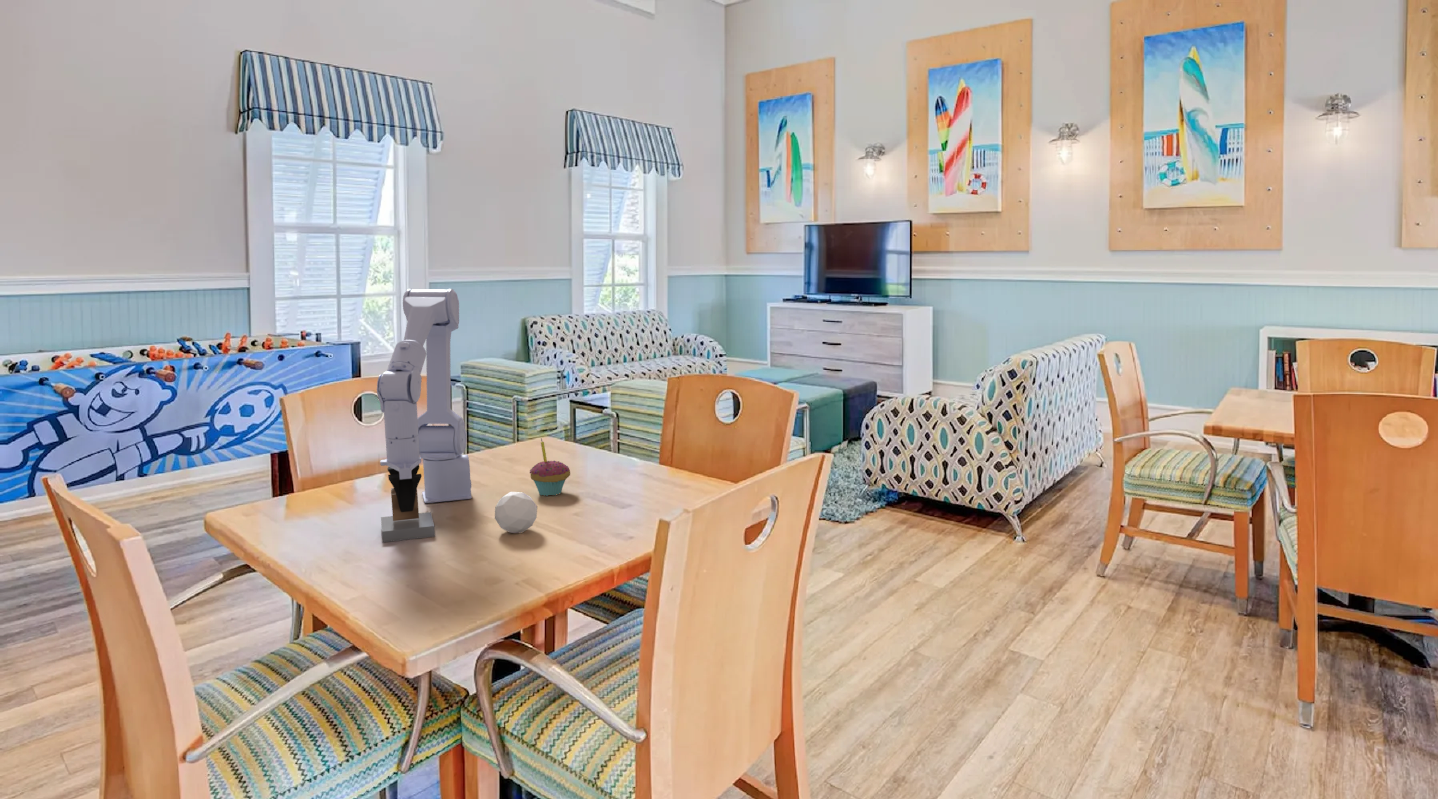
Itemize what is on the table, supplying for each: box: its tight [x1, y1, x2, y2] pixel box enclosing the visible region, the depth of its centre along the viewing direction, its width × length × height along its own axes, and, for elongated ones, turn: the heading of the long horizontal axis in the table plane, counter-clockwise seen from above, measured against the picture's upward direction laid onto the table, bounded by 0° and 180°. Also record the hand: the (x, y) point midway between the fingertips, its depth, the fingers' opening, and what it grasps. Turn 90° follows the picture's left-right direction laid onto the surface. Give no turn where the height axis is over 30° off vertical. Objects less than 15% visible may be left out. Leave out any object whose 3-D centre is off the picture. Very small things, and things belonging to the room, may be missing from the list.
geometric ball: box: [494, 491, 538, 534], centre depth 161 cm, size 8×8×8 cm
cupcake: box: [529, 438, 571, 497], centre depth 185 cm, size 9×8×12 cm
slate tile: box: [380, 511, 436, 543], centre depth 160 cm, size 9×9×2 cm
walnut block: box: [390, 487, 420, 521], centre depth 160 cm, size 4×4×5 cm
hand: (406, 507), depth 160 cm, fingers closed on walnut block, 4 cm apart
